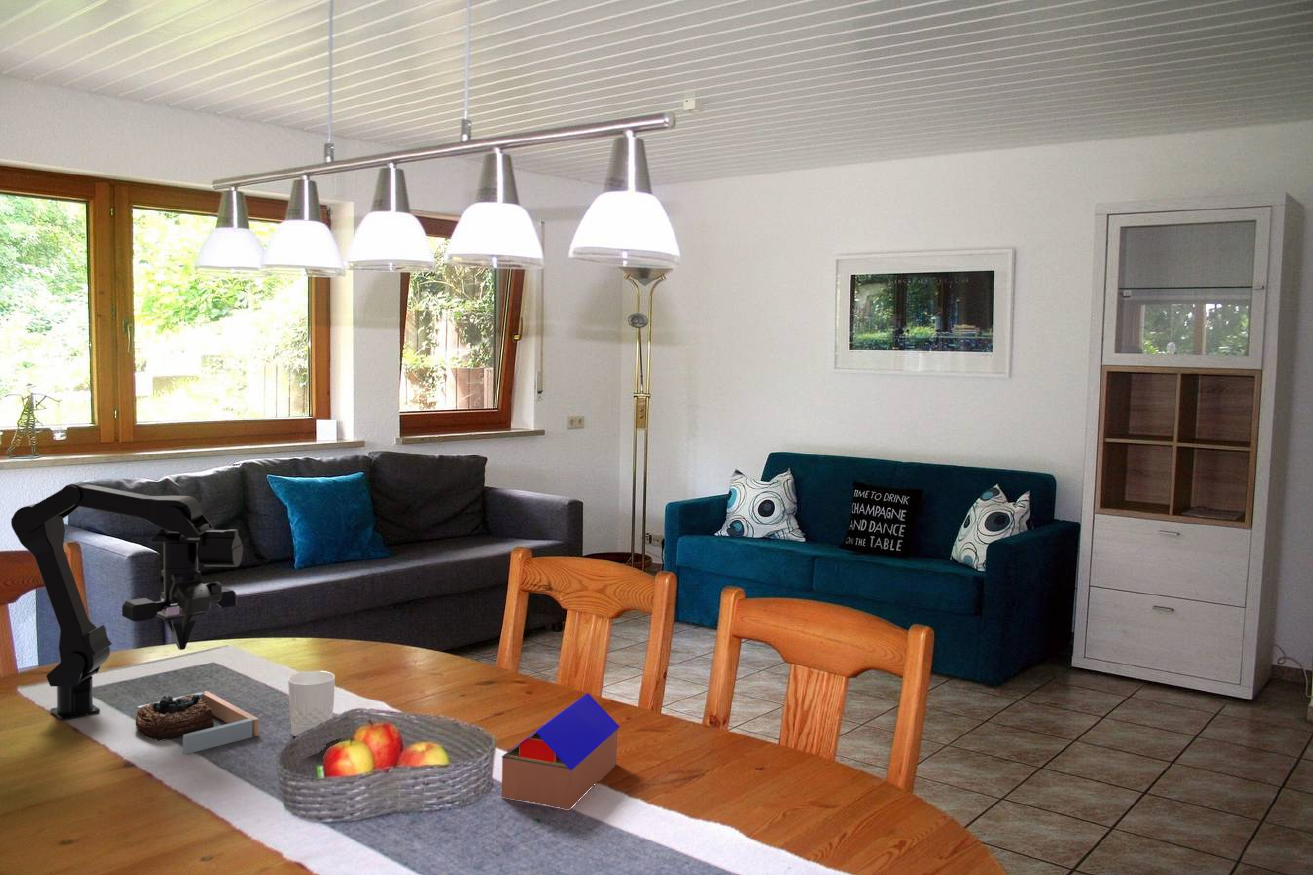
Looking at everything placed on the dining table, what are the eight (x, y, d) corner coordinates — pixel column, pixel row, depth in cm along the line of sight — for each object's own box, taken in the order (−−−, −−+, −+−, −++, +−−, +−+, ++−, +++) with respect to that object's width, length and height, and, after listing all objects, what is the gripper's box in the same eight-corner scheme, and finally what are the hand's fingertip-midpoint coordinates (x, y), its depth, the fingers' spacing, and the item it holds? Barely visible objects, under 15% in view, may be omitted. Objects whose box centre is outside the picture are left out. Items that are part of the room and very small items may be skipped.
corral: (137, 722, 186) (137, 706, 185) (206, 706, 195) (206, 690, 195) (186, 754, 172) (186, 736, 172) (258, 735, 181) (258, 718, 181)
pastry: (221, 729, 184) (221, 697, 184) (150, 745, 176) (150, 712, 175) (197, 713, 192) (197, 682, 192) (128, 727, 184) (128, 695, 183)
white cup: (320, 742, 179) (320, 686, 178) (279, 737, 180) (279, 681, 180) (342, 726, 187) (343, 672, 186) (303, 722, 188) (303, 668, 187)
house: (498, 800, 158) (499, 726, 158) (554, 754, 177) (555, 687, 176) (570, 813, 155) (571, 737, 154) (619, 765, 173) (620, 697, 172)
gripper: (145, 580, 177) (145, 669, 178) (250, 566, 190) (250, 649, 192) (120, 569, 184) (121, 655, 186) (223, 557, 198) (224, 636, 199)
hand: (181, 649), depth 190 cm, fingers closed
